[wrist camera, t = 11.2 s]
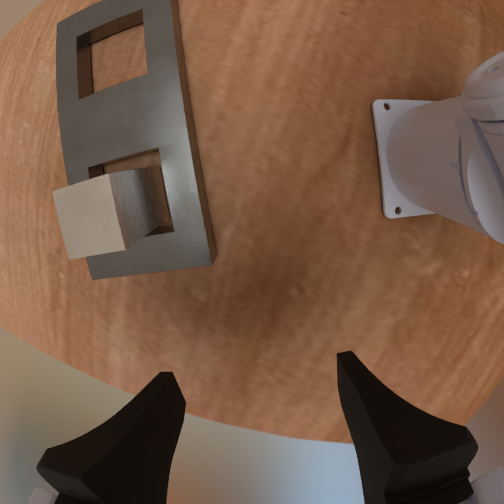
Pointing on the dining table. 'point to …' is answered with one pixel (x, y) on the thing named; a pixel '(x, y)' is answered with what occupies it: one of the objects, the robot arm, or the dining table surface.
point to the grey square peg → (110, 211)
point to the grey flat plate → (135, 130)
